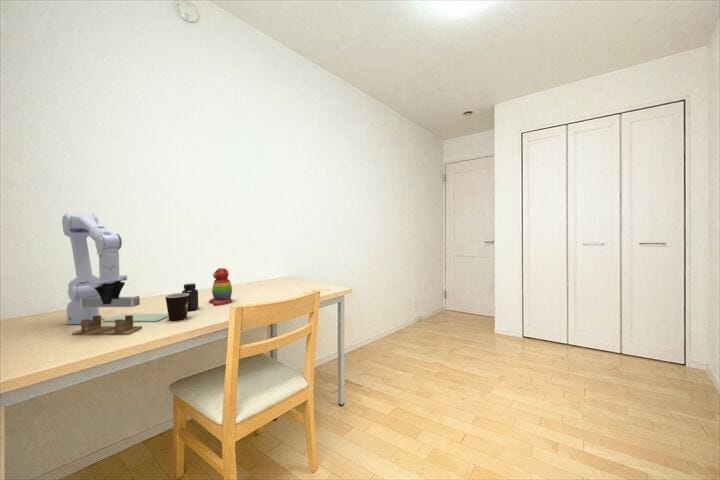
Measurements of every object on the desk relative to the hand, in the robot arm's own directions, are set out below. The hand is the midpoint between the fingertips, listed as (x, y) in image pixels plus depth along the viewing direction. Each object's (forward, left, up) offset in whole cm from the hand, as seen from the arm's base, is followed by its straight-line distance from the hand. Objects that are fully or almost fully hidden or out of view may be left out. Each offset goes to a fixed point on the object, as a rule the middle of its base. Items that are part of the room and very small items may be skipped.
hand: (110, 302), depth 113 cm
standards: (0, -2, -10) cm, 10 cm away
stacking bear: (+23, +41, -11) cm, 49 cm away
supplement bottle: (+14, +28, -11) cm, 33 cm away
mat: (0, +14, -10) cm, 18 cm away
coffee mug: (+17, +15, -11) cm, 25 cm away
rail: (0, 0, -1) cm, 1 cm away
